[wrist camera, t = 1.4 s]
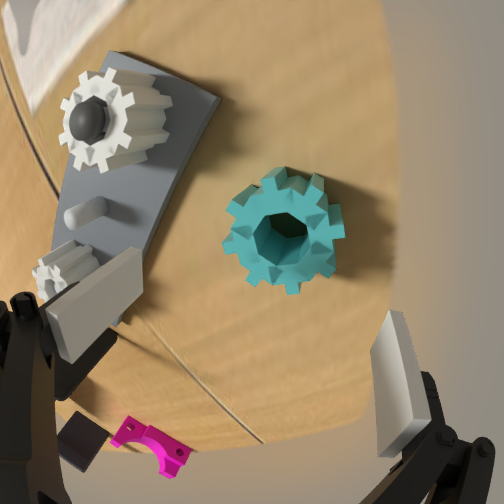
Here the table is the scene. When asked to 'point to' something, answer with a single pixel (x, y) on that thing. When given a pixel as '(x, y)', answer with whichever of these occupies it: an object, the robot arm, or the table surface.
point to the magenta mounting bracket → (154, 445)
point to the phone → (80, 365)
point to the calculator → (80, 441)
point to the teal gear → (276, 245)
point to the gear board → (119, 164)
